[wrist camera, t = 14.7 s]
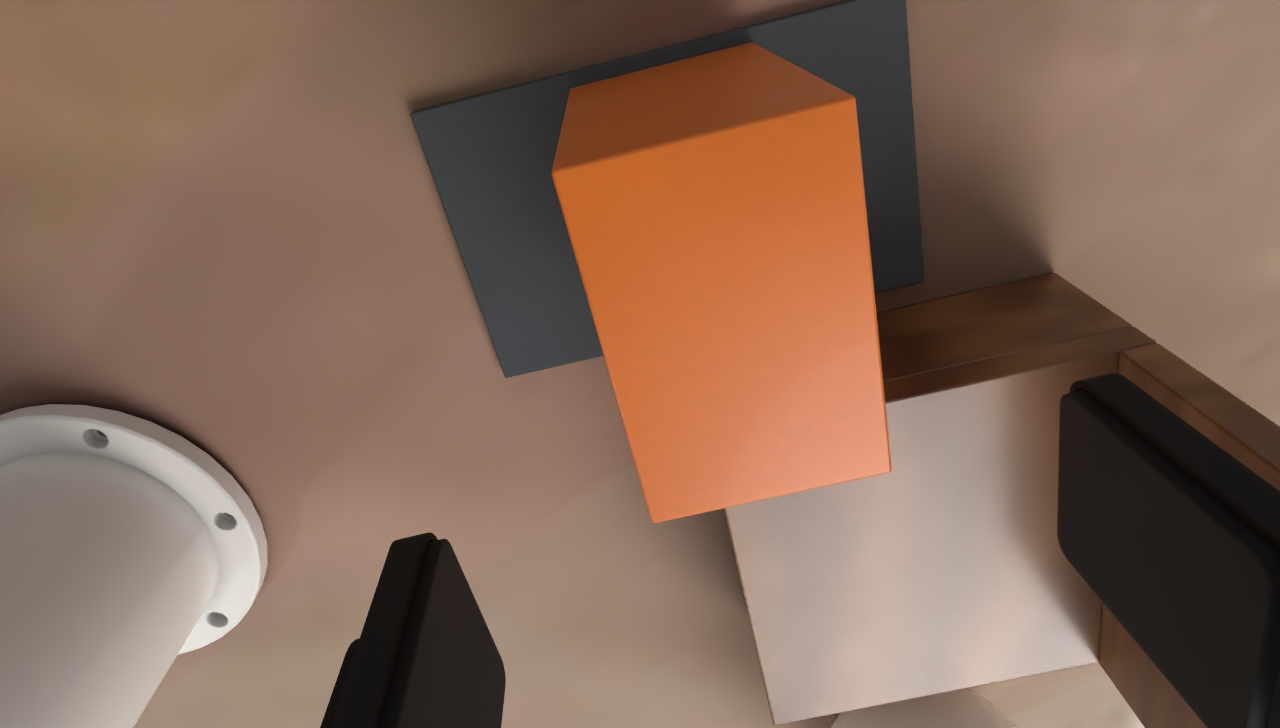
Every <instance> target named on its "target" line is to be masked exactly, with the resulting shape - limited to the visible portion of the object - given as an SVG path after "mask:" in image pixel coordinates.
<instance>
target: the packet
mask: <svg viewBox="0 0 1280 728" xmlns="http://www.w3.org/2000/svg"><path fill="white" fill-rule="evenodd" d="M551 174H552V178H553V181H554V185H555V188H556V192H557V195H558V199H559V202H560V206H561V209H562V213H563V216H564V220H565V223H566V227H567V230H568V234H569V237H570V241H571V244H572V248H573V251H574V255H575V258H576V262H577V265H578V268H579V272H580V275H581V279H582V282H583V286H584V289H585V293H586V296H587V300H588V303H589V307H590V310H591V314H592V317H593V321H594V324H595V328H596V331H597V335H598V338H599V342H600V345H601V349H602V352H603V355H604V359H605V362H606V366H607V369H608V373H609V376H610V380H611V383H612V387H613V390H614V394H615V397H616V401H617V404H618V408H619V411H620V415H621V418H622V422H623V425H624V429H625V432H626V436H627V439H628V443H629V446H630V449H631V453H632V456H633V460H634V463H635V467H636V470H637V474H638V477H639V481H640V484H641V488H642V491H643V495H644V498H645V502H646V505H647V509H648V512H649V516H650V519H651V521H652V522H653V523H658V522H662V521H667V520H672V519H676V518H681V517H686V516H690V515H695V514H700V513H704V512H709V511H714V510H718V509H723V508H728V507H732V506H737V505H742V504H746V503H751V502H755V501H760V500H765V499H769V498H774V497H779V496H783V495H788V494H793V493H797V492H802V491H807V490H811V489H816V488H821V487H825V486H830V485H835V484H839V483H844V482H849V481H853V480H858V479H863V478H867V477H872V476H877V475H881V474H886V473H889V472H891V470H892V466H891V456H890V446H889V436H888V425H887V415H886V405H885V395H884V385H883V374H882V364H881V354H880V344H879V333H878V323H877V313H876V303H875V293H874V282H873V272H872V262H871V252H870V241H869V231H868V221H867V211H866V201H865V190H864V180H863V170H862V160H861V150H860V139H859V129H858V119H857V109H856V99H855V97H854V96H853V95H851V94H849V93H847V92H846V91H844V90H842V89H840V88H838V87H836V86H834V85H832V84H830V83H828V82H827V81H825V80H823V79H821V78H819V77H817V76H815V75H813V74H811V73H810V72H808V71H806V70H804V69H802V68H800V67H798V66H796V65H794V64H793V63H791V62H789V61H787V60H785V59H783V58H781V57H779V56H777V55H776V54H774V53H772V52H770V51H768V50H766V49H764V48H762V47H760V46H758V45H757V44H755V43H752V42H751V43H747V44H743V45H739V46H735V47H731V48H727V49H723V50H719V51H716V52H712V53H708V54H704V55H700V56H696V57H692V58H688V59H684V60H680V61H676V62H672V63H668V64H664V65H660V66H656V67H652V68H648V69H645V70H641V71H637V72H633V73H629V74H625V75H621V76H617V77H613V78H609V79H605V80H601V81H597V82H593V83H589V84H585V85H581V86H578V87H574V88H571V89H570V92H569V97H568V101H567V106H566V110H565V114H564V119H563V123H562V128H561V132H560V137H559V141H558V145H557V150H556V154H555V159H554V163H553V167H552V173H551Z"/></svg>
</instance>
